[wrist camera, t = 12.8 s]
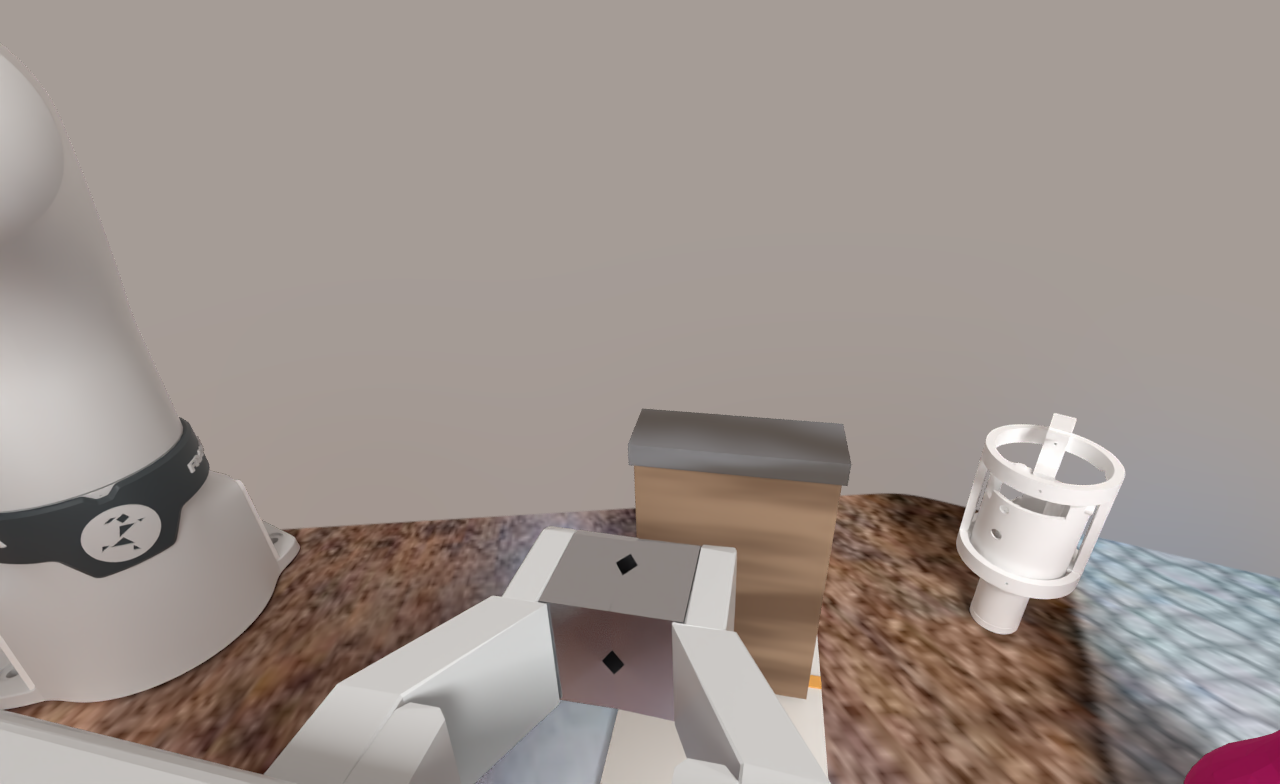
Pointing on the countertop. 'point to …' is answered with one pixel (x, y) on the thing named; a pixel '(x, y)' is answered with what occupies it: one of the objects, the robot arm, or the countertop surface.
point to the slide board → (655, 749)
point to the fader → (750, 518)
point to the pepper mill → (1240, 763)
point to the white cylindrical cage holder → (1032, 522)
